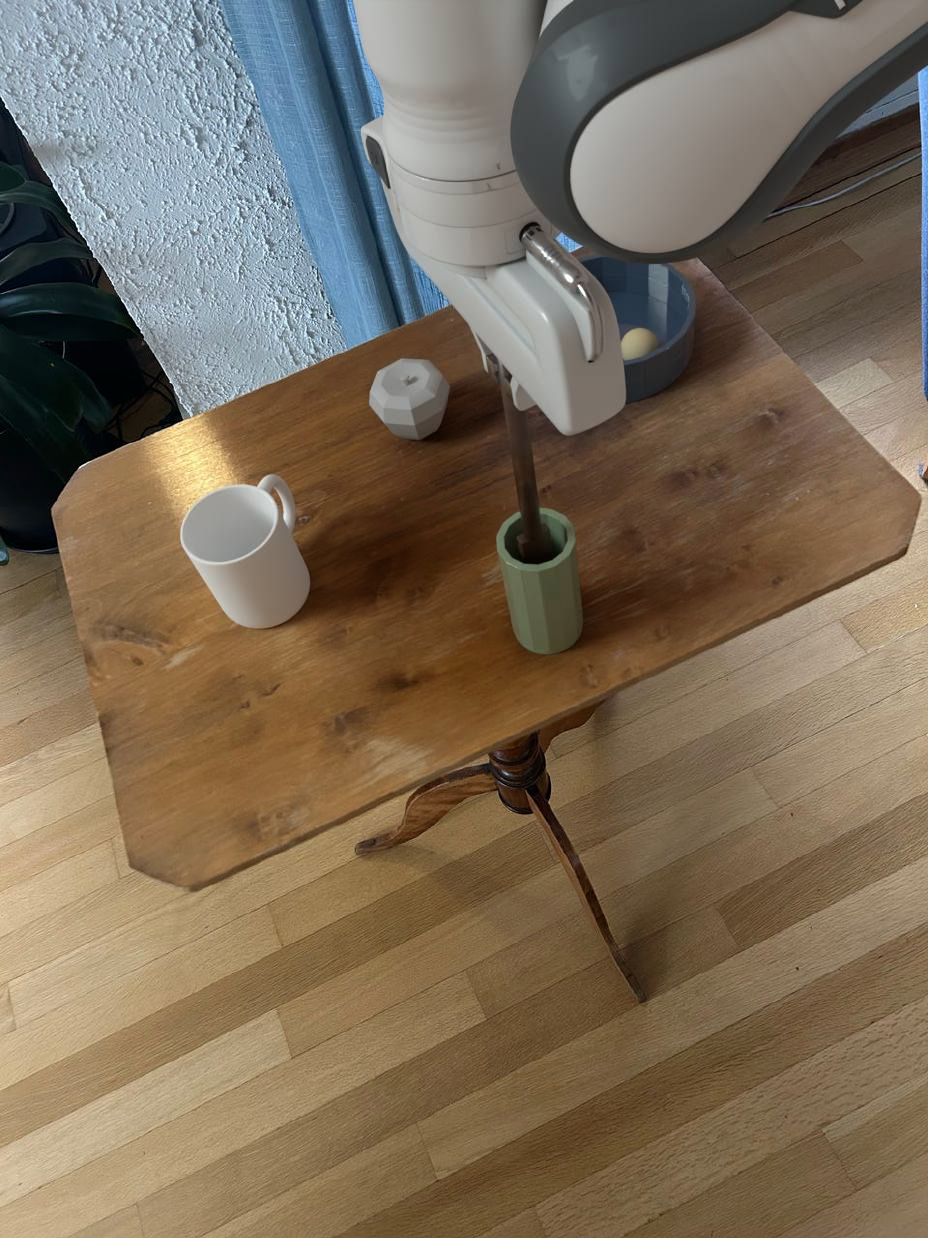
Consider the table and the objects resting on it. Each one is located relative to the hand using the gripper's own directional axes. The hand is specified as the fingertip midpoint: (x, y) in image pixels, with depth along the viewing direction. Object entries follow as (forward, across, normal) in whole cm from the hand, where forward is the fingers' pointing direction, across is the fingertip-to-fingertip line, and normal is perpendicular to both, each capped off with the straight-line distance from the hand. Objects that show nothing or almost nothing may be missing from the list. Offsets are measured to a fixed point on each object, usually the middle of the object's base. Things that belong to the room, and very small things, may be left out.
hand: (514, 386), depth 60 cm
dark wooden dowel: (+20, 0, 0) cm, 20 cm away
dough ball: (+25, +21, -23) cm, 40 cm away
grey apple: (+28, +27, -1) cm, 39 cm away
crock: (+27, 0, 0) cm, 27 cm away
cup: (+28, +18, +18) cm, 37 cm away
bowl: (+27, +25, -22) cm, 43 cm away
